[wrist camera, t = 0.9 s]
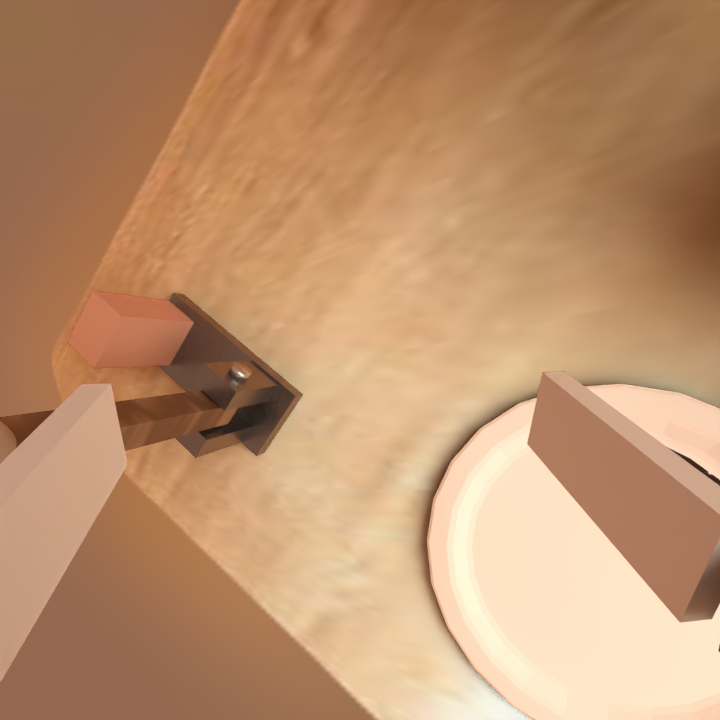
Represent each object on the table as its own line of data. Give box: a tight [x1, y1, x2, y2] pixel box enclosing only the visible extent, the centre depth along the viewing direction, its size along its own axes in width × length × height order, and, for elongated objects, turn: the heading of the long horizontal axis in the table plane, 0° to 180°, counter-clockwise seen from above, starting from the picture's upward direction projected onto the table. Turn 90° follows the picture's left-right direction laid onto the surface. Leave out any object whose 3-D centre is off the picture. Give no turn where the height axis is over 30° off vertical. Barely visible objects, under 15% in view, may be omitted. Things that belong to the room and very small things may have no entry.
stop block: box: [67, 291, 194, 369], centre depth 43 cm, size 4×6×9 cm
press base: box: [160, 293, 303, 458], centre depth 42 cm, size 18×9×8 cm, turn 54°
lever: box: [0, 390, 238, 464], centre depth 30 cm, size 4×4×23 cm
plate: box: [427, 384, 720, 720], centre depth 34 cm, size 29×29×2 cm
